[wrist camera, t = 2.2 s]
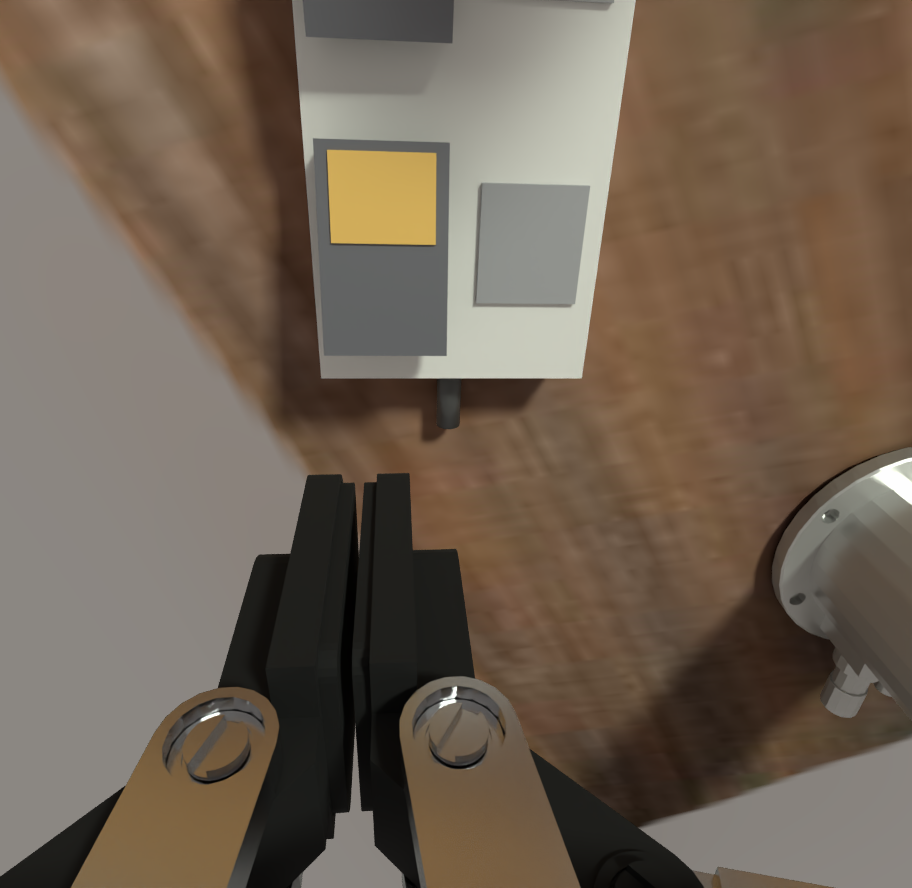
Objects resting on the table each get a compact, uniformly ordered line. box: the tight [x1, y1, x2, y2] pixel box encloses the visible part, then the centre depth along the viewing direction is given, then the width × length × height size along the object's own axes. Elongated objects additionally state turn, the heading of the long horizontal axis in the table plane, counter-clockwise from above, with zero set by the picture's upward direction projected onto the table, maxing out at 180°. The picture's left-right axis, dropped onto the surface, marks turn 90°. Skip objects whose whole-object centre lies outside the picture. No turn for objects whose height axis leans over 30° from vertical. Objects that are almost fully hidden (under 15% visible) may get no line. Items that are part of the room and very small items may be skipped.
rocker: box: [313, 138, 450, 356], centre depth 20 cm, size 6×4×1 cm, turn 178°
